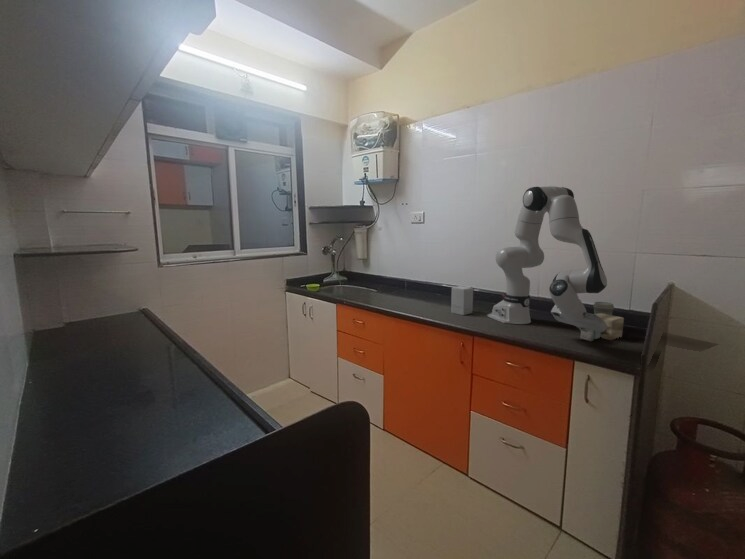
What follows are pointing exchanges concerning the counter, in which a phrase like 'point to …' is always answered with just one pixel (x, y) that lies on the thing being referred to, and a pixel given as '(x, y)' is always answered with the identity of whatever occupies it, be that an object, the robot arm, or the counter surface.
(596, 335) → the pale teal block
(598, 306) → the coffee cup
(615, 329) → the block
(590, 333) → the grey elongated piece
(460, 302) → the supplement box
